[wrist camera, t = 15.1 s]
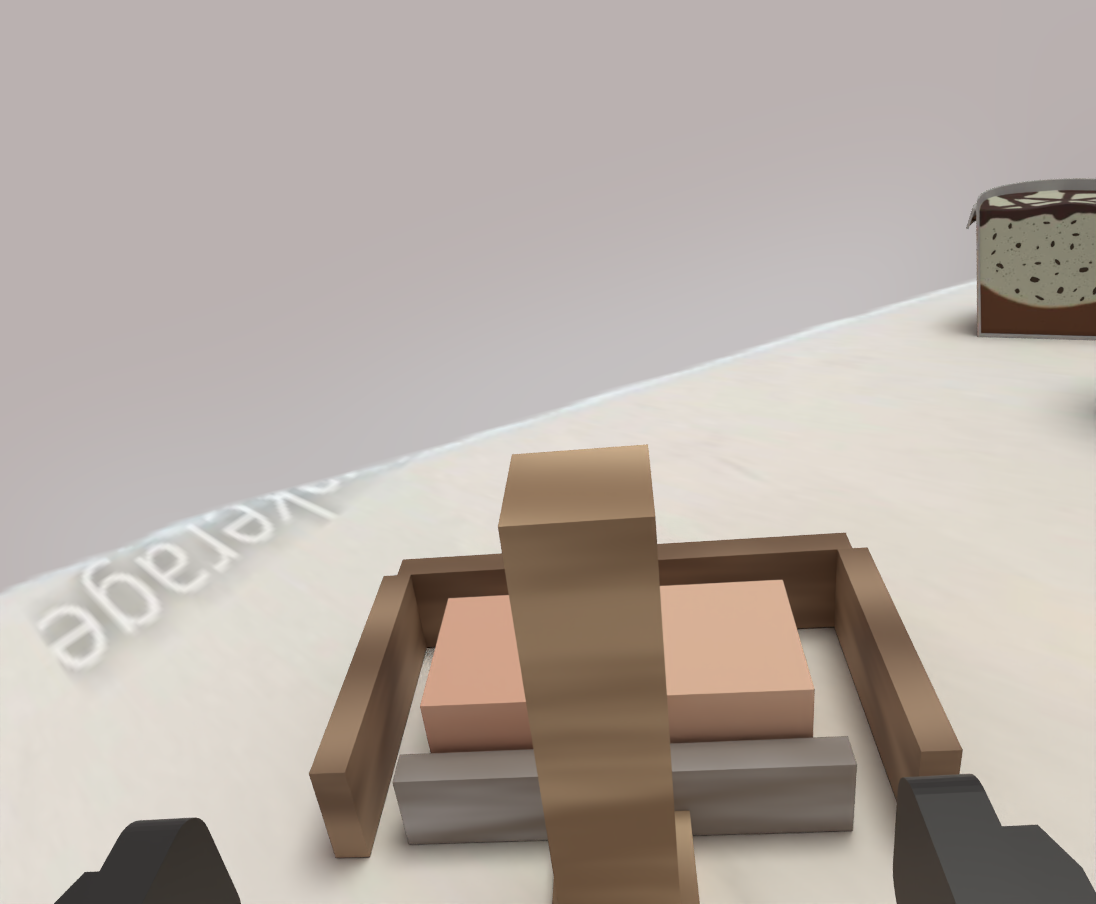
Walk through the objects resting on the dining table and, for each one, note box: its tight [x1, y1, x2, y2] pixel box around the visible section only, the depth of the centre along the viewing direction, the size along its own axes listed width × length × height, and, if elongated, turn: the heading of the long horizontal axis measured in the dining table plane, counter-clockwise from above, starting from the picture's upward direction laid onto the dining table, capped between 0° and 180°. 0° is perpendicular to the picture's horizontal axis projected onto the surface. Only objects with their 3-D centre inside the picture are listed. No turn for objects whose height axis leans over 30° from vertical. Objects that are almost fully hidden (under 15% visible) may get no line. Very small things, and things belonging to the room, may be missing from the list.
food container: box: [966, 178, 1096, 340], centre depth 64 cm, size 12×6×10 cm, turn 67°
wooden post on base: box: [393, 445, 857, 904], centre depth 24 cm, size 9×15×16 cm, turn 87°
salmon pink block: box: [420, 595, 533, 753], centre depth 33 cm, size 6×6×5 cm
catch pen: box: [309, 533, 963, 858], centre depth 34 cm, size 12×20×4 cm, turn 87°
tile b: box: [660, 580, 815, 744], centre depth 33 cm, size 6×6×5 cm
